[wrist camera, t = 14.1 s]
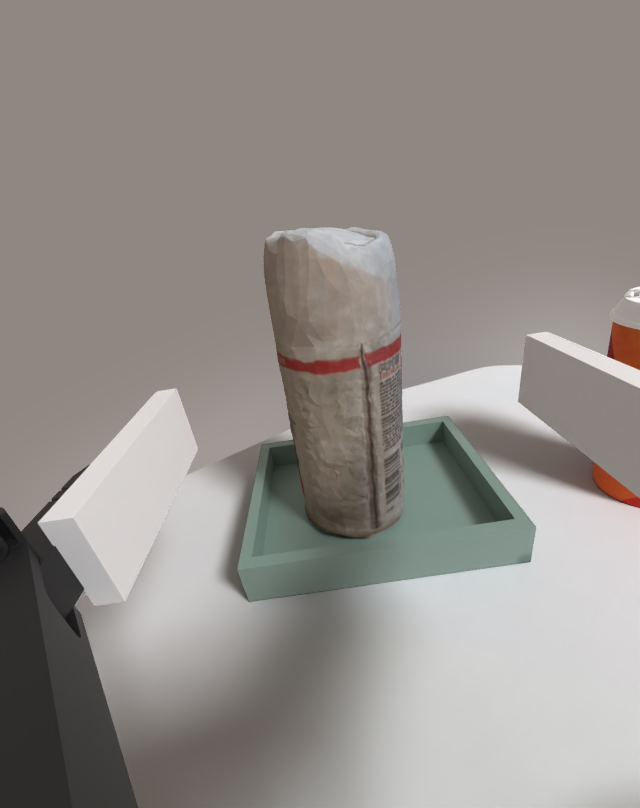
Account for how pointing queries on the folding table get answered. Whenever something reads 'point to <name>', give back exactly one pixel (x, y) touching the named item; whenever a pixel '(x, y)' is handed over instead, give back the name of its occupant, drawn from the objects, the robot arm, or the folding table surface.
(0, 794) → the robot arm
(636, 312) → the paper cup
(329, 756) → the folding table surface
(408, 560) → the tray
